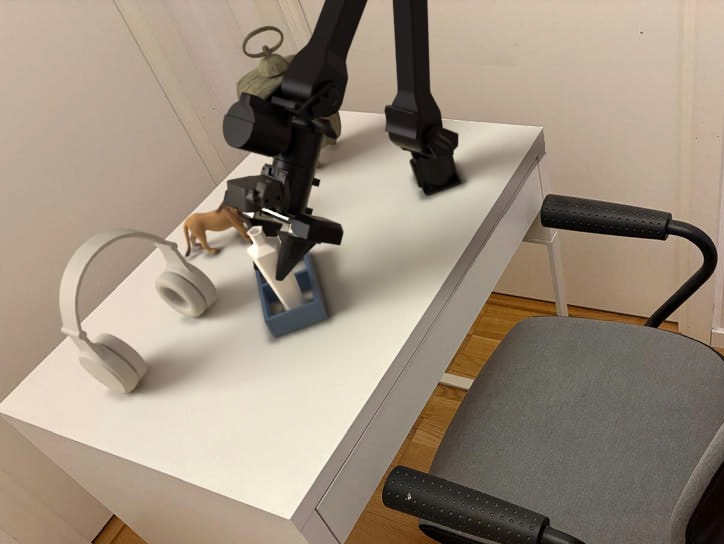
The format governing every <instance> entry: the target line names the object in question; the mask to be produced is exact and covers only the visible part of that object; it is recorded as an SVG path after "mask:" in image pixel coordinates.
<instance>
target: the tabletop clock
mask: <svg viewBox="0 0 724 544" xmlns="http://www.w3.org/2000/svg"><path fill="white" fill-rule="evenodd" d="M267 31H274V32H275V33H278V34H279V36H280V39H279V41H278V42H277V43H276V44H275V45H274V46H272V47H271V48H270V47H269V46H268V45H265V44H264V45H263V46H262V47H261V50H262V52H258V53H249V52H248V51H246V47H247V44H248V42H249V40H251V38H253V37H255V36H256V35H258V34H260V33H263V32H267ZM283 42H284V33H283V32H282V30H281V29H280V28H278V27H276V26H273V25H266V26H261V27H258V28H256V29H254V30H252V31H250V32H249V33H248V34H247V35H246V36H245V37H244V39H243V41H242V43H241V51H242V53H243V54H244V55H245V56H247V57H248V58H251V59H260V60H259V62H258V63H257V64H258V65H257V67H256V68H254V69H253V70H251V71H248V72H247V73H245V74H243V76H241V77H240V79H239V80H238V81H237V82H235V85H236V86H235V91H236V97H237V100H238V101H239V100H240V96H241V92H246V93H250V94H253V95H256V96H259V97H261V98H262V99H264V98H265V97H266V96H267V95H268V94H269V93H270V92H271V91H272V90H273V89H274V88H275V87H276V86H277V85H278V84H279V83H280V82H281V81H282V78H283V76H284V74H285V72H286V70H287V68H288V67H289V65H290V63H291V61H292V59H293V57H294V56H295V55H296V54H297V53H294V54H288V55H285V56H282V55H281V54H279V53H275V52H276V51H277V50H279V49H280V47H282V44H283ZM238 101H237V102H238ZM293 118H295V117H293ZM293 118H292V119H293ZM322 118H323V117H322ZM325 119H328V120H330V123H331V126H332V128H333V129H334V130H335V132H336V134H337V139H336V140H333V139H330V138H327V137H324V141H323V145H322V149H321V150H323V149H325V148H327V147H329V146H335V145H336V144H337V140H338V139H339V138H340V137H341V135H342V120H341V119H342V118H341V115H340V110H339V111H338V112H337V113H336V114H333V115H331V116H329V117H325ZM271 158H272V159H273V158H274V157H271ZM321 167H322V165H321V162H320V160H319V161H318V165H317V169H316V170H318V169H320V168H321Z"/></svg>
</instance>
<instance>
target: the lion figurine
mask: <svg viewBox="0 0 724 544" xmlns="http://www.w3.org/2000/svg"><path fill="white" fill-rule="evenodd" d="M238 213H243V211H241V209H239V208H238V209H234V208H231V207H229V206H227V205H224V204H223V200H222V201H221V202H220V204H219V206H218V207H217V209H214V210H210V211H207V212H196V213H192V214H191V215H189V216H188V217H187V218H186V219H185V220H184V222H183V233H184V237H185V241H186V244H187V247H186V248H187V249H186V252H185V254H184V258H188V257H189V256H190V255H191V252H192V248H193V249H194V250H195V249H196V250H197V249H201V248H203V249H204V250H206V251H207V252H208V253H209V254H210V255H216V254H217V253H218V248H217V247H211V246H210V245H208V238H207V233H206V231H210V232H223V231H227V230H229V229H231V228H234V229H236V231H237V232H238V233H239V234H240V236H241V237H242V239H243V240H245V242H251V238H250V236H249V235H248V234H247V232H248V231H249V228H248V227H246V225H245V222H244V221H243V220H242V219H241V218H240V217H239V216H238ZM189 231H190V233H189ZM197 240H198V241H199V242H197Z"/></svg>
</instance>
